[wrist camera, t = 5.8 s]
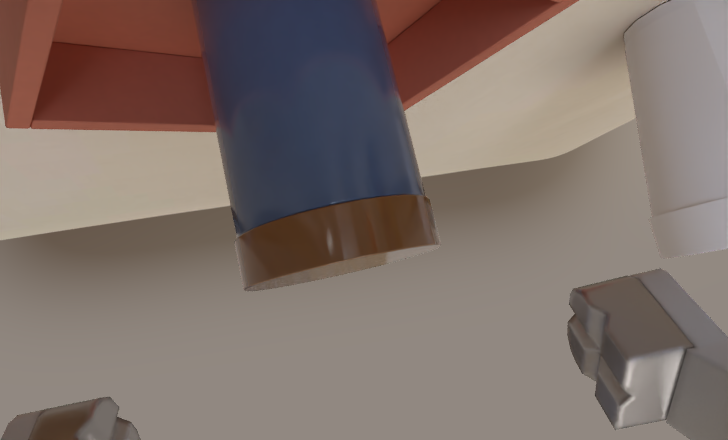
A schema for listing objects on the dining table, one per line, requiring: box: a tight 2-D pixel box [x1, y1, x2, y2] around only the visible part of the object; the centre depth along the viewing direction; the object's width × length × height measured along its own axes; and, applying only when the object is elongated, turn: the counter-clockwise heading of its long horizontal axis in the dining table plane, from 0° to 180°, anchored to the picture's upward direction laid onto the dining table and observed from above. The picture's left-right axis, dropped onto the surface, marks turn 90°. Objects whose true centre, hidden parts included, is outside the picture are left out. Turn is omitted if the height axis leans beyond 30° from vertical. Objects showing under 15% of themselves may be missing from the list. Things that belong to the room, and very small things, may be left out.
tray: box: [0, 0, 579, 132], centre depth 18 cm, size 15×12×3 cm
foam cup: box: [624, 0, 728, 259], centre depth 29 cm, size 10×9×13 cm
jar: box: [191, 0, 441, 291], centre depth 17 cm, size 6×6×10 cm
